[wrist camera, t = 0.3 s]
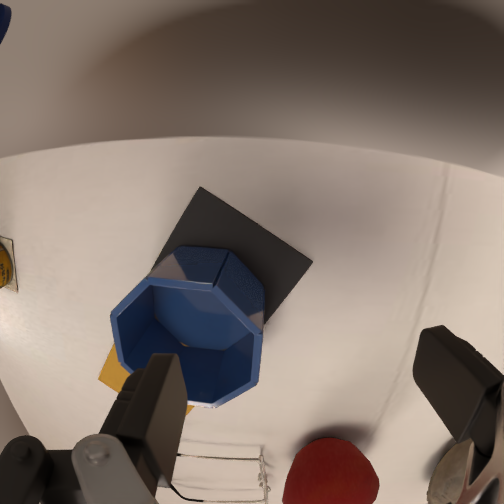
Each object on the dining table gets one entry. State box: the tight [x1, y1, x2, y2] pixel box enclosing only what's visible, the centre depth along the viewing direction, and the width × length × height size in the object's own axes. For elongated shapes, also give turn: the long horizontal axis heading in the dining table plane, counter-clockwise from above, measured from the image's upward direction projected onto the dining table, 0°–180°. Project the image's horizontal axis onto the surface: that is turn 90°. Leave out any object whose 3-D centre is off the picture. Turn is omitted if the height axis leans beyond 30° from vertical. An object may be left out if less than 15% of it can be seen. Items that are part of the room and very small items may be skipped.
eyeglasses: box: [170, 453, 271, 504], centre depth 35 cm, size 16×19×5 cm
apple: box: [282, 437, 380, 504], centre depth 28 cm, size 12×12×13 cm
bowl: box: [427, 438, 473, 504], centre depth 28 cm, size 23×23×15 cm
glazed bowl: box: [110, 246, 265, 408], centre depth 24 cm, size 11×11×8 cm
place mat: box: [98, 187, 313, 416], centre depth 30 cm, size 28×12×1 cm, turn 146°
